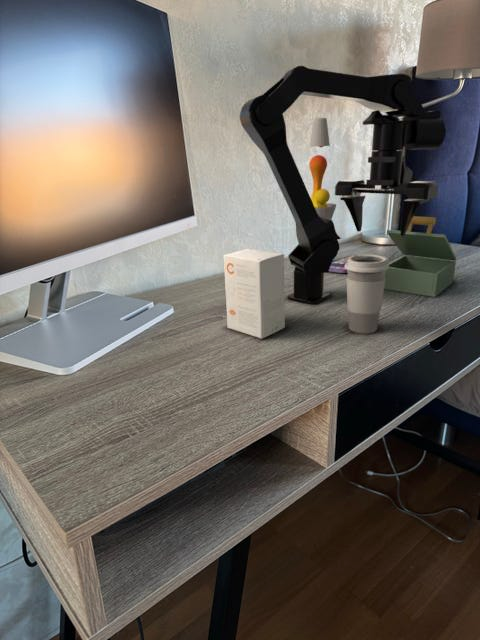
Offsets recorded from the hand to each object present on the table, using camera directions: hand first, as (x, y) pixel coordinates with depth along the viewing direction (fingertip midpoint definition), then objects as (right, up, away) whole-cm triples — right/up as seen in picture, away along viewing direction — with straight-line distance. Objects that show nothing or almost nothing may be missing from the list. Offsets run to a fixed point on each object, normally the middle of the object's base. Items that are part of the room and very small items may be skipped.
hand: (380, 233), depth 90 cm
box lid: (+10, -2, +4) cm, 11 cm away
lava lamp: (-8, -3, +28) cm, 29 cm away
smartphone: (-1, -4, +23) cm, 24 cm away
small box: (-26, -19, -13) cm, 34 cm away
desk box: (+10, -10, +6) cm, 15 cm away
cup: (-8, -19, -15) cm, 25 cm away
